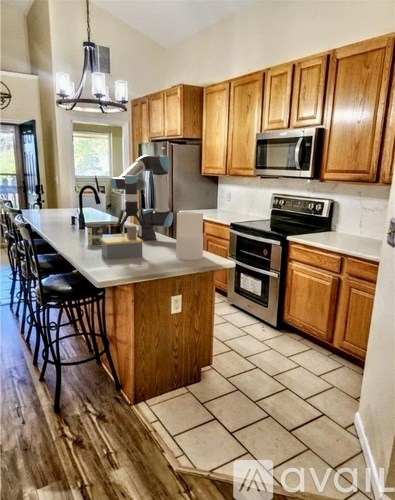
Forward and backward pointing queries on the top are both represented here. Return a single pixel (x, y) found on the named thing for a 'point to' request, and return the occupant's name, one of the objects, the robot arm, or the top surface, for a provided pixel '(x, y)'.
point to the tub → (121, 250)
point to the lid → (123, 240)
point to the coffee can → (94, 235)
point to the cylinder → (189, 235)
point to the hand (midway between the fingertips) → (131, 236)
